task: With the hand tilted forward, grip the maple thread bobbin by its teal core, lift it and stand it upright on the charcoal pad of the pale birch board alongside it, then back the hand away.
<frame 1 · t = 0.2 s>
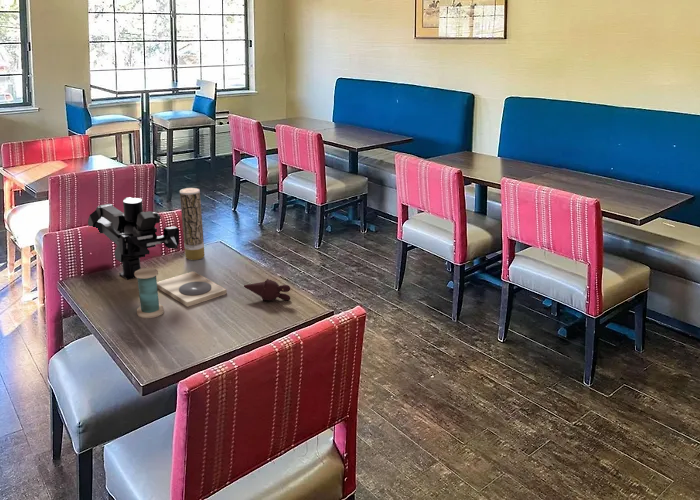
hand: (163, 249, 194), 16 cm above the table, tool horizontal, fingers open, 9 cm apart
bobbin: (150, 312, 192), on the table
stand board: (190, 290, 207), on the table
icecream: (267, 300, 201), on the table
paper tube: (195, 258, 233), on the table
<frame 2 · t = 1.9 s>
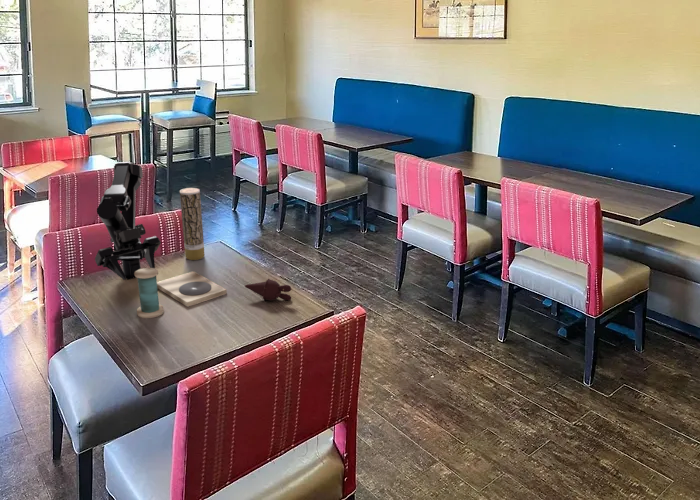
hand: (139, 275, 191), 11 cm above the table, tool tilted 45°, fingers open, 9 cm apart
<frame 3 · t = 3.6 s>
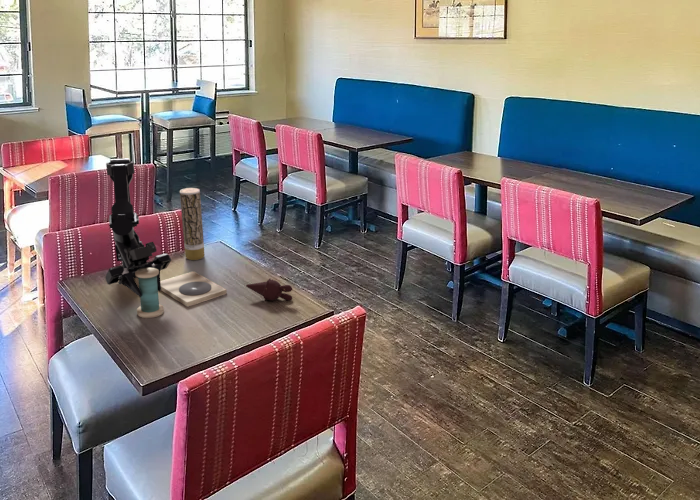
hand: (150, 293, 188), 7 cm above the table, tool tilted 45°, fingers closed on bobbin, 6 cm apart
bobbin: (150, 312, 192), on the table, touching gripper
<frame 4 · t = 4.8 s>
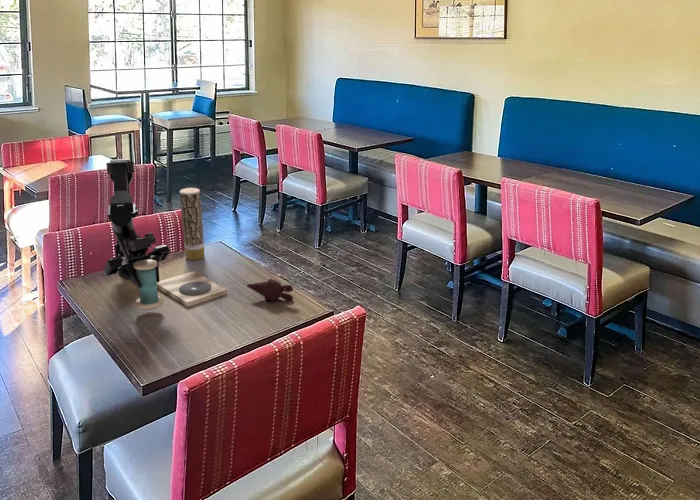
hand: (149, 284, 187), 9 cm above the table, tool tilted 45°, fingers closed on bobbin, 5 cm apart
bobbin: (149, 304, 191), point 3 cm above the table, touching gripper
everything else where it was.
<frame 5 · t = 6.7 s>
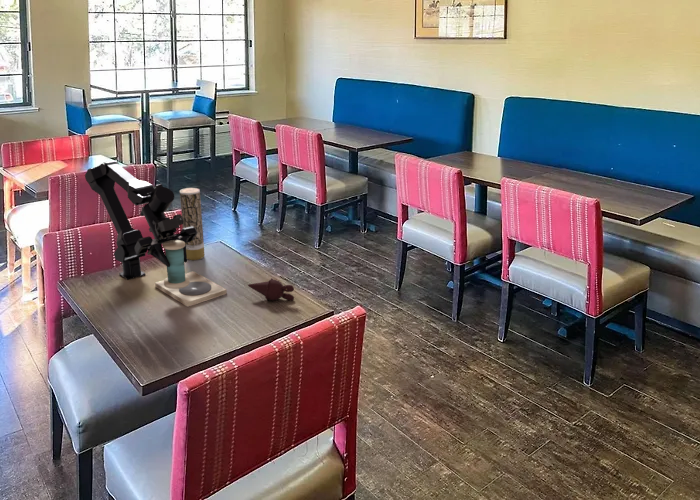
hand: (177, 264, 194), 12 cm above the table, tool tilted 45°, fingers closed on bobbin, 5 cm apart
bobbin: (177, 283, 198), point 6 cm above the table, touching gripper
when the fingers open (9 cm above the table, at t = 8.7 s): bobbin stays where it is, resting on stand board.
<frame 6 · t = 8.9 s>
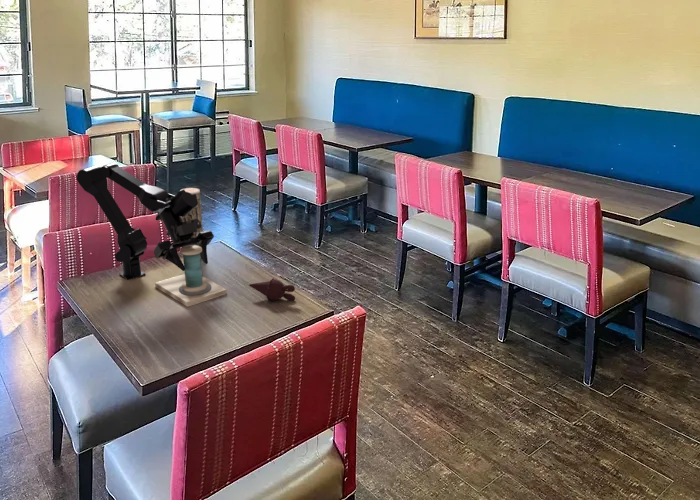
hand: (195, 267, 200), 9 cm above the table, tool tilted 45°, fingers open, 8 cm apart
bobbin: (194, 287, 204), point 2 cm above the table, touching stand board
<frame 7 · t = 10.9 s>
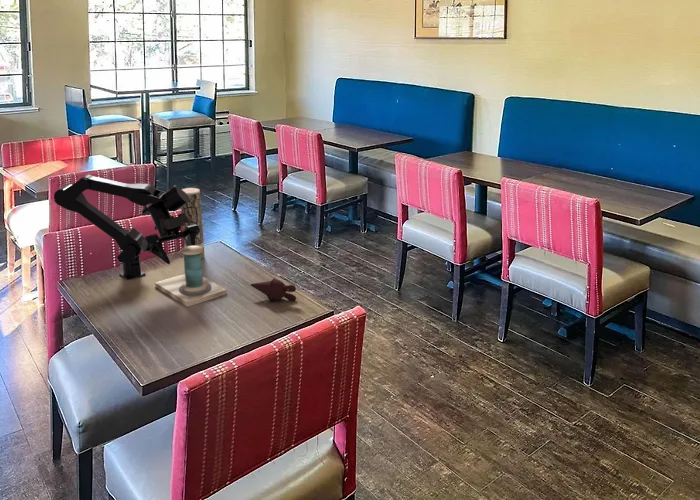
hand: (182, 260, 206), 9 cm above the table, tool tilted 45°, fingers open, 9 cm apart
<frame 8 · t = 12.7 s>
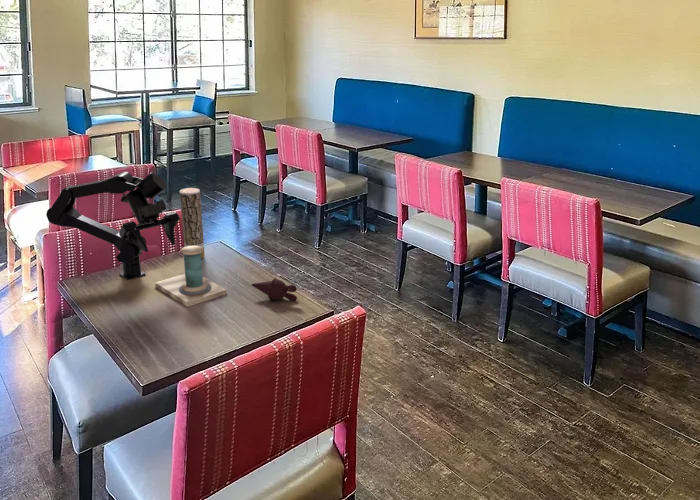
hand: (160, 247, 204), 14 cm above the table, tool tilted 45°, fingers open, 9 cm apart
at the end: bobbin 0.2 cm from the target spot, point 1.8 cm above the table; bobbin tilted 0°; the gripper is holding nothing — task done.
